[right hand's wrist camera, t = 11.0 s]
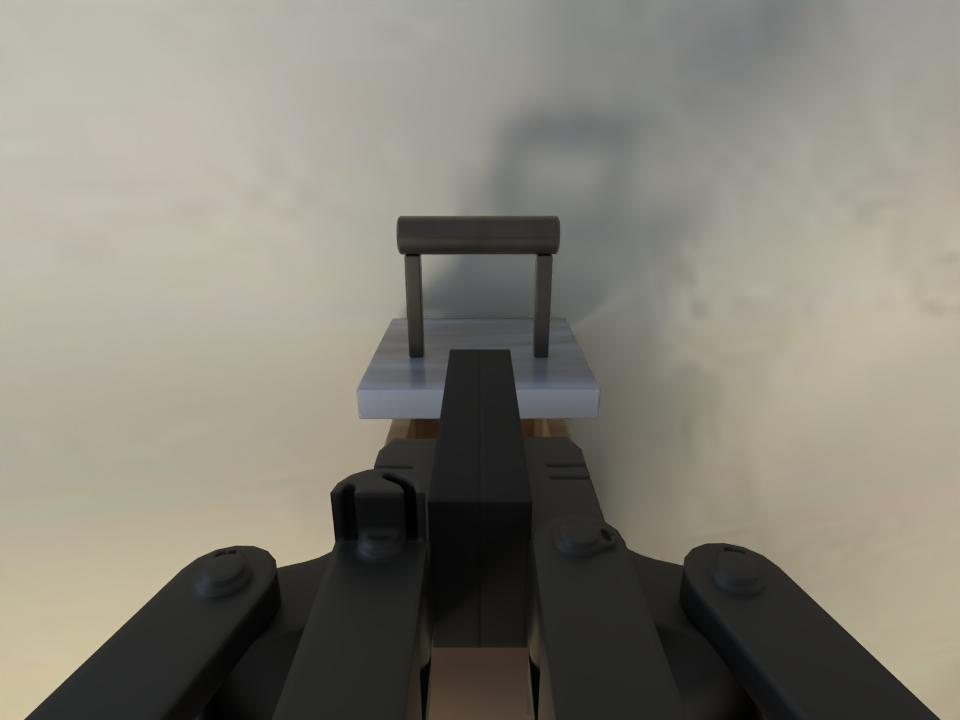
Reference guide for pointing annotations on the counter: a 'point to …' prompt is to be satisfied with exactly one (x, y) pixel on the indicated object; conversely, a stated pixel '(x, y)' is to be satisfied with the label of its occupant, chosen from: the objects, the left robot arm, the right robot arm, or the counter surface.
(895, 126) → the counter surface
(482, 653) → the cabinet
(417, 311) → the drawer
